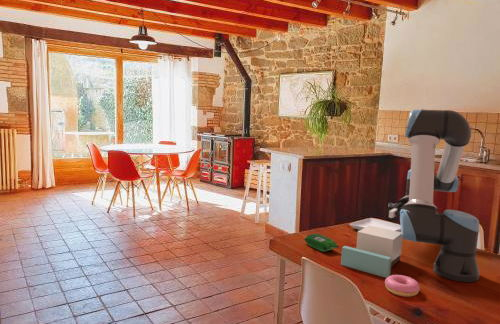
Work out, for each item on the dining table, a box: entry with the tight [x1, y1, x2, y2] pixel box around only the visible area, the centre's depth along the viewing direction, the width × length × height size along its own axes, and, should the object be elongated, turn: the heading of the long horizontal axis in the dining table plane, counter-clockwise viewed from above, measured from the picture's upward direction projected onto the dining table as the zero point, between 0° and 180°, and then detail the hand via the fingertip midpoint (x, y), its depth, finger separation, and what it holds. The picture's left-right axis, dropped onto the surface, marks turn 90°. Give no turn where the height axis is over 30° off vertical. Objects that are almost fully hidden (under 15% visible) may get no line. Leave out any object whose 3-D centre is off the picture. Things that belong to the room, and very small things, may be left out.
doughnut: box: [384, 274, 421, 298], centre depth 130 cm, size 11×11×4 cm
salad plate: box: [349, 217, 401, 232], centre depth 197 cm, size 21×21×3 cm
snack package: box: [303, 233, 339, 253], centre depth 168 cm, size 7×16×5 cm, turn 30°
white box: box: [355, 226, 403, 262], centre depth 156 cm, size 14×12×9 cm
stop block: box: [340, 245, 392, 279], centre depth 145 cm, size 18×2×7 cm, turn 52°
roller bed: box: [390, 255, 401, 269], centre depth 154 cm, size 14×17×2 cm
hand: (390, 214), depth 164 cm, fingers closed
